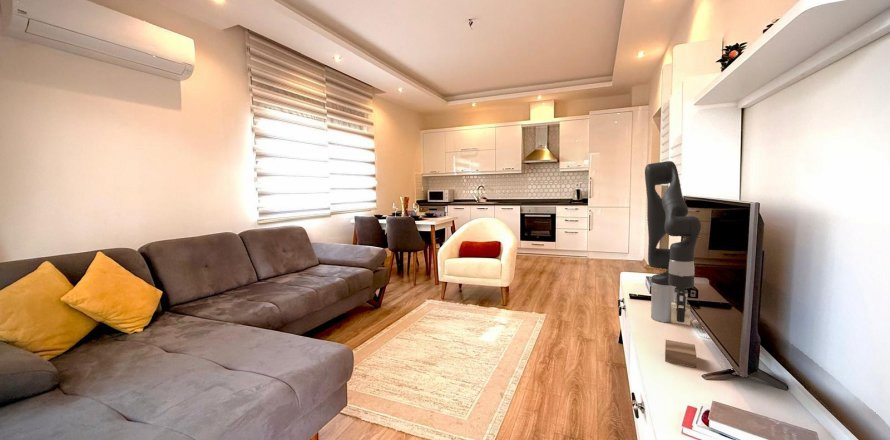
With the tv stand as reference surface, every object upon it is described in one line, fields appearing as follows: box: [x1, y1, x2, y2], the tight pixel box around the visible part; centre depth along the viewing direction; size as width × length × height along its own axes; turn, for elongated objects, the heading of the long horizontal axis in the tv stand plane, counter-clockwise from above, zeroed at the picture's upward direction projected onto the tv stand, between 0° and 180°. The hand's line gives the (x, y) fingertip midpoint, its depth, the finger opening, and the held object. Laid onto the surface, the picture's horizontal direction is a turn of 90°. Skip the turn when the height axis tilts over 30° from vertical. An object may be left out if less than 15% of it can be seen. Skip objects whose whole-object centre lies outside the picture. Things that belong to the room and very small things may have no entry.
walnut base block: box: [664, 339, 697, 368], centre depth 124 cm, size 9×9×4 cm
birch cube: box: [670, 303, 691, 326], centre depth 123 cm, size 6×6×6 cm
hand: (680, 318), depth 123 cm, fingers closed on birch cube, 5 cm apart
